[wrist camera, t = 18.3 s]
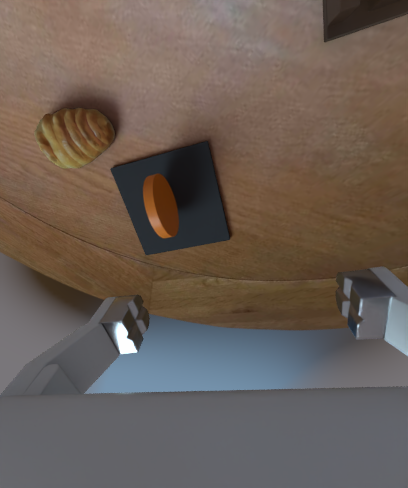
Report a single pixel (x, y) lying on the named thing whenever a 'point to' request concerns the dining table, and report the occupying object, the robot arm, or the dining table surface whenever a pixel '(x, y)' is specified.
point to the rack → (358, 15)
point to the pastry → (74, 136)
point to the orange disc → (161, 206)
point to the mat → (176, 198)
